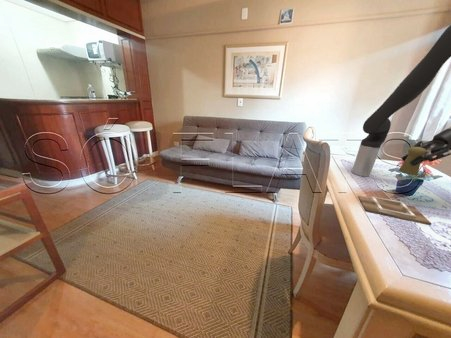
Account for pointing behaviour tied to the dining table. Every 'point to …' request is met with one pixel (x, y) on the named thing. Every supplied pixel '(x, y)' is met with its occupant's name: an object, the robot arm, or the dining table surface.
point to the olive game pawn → (413, 154)
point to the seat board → (392, 209)
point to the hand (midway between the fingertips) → (407, 161)
